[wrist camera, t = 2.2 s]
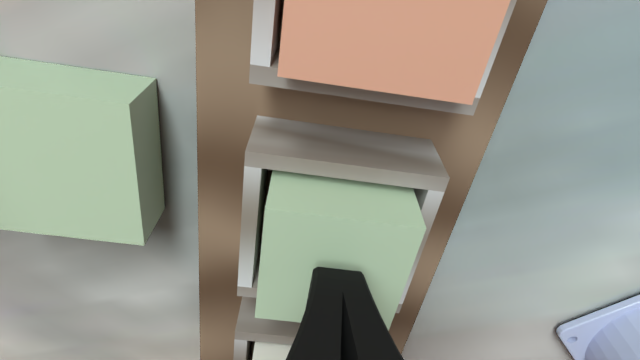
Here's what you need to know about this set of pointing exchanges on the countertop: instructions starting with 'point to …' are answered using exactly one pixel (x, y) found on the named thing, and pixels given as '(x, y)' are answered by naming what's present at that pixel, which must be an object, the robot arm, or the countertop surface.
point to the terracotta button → (392, 44)
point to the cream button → (270, 351)
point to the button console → (321, 156)
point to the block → (79, 152)
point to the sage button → (335, 240)
